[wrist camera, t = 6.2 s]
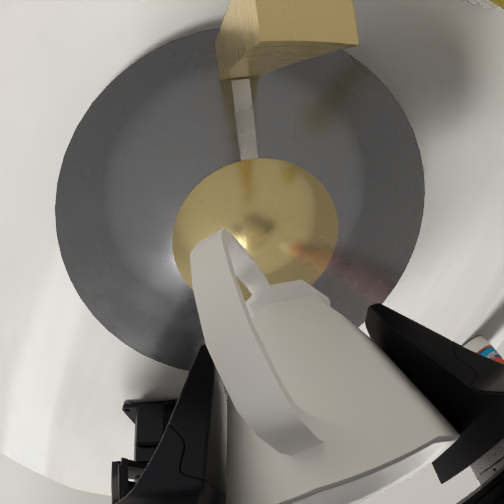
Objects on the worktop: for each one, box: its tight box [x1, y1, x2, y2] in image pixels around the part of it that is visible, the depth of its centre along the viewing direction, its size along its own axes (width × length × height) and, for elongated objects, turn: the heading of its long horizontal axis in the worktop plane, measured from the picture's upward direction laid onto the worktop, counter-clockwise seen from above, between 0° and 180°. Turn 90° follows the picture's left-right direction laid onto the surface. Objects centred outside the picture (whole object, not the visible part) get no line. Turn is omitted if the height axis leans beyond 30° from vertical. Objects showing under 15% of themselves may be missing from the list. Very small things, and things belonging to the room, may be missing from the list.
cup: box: [190, 228, 460, 504], centre depth 8 cm, size 7×10×8 cm
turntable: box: [55, 0, 425, 371], centre depth 12 cm, size 22×22×10 cm
